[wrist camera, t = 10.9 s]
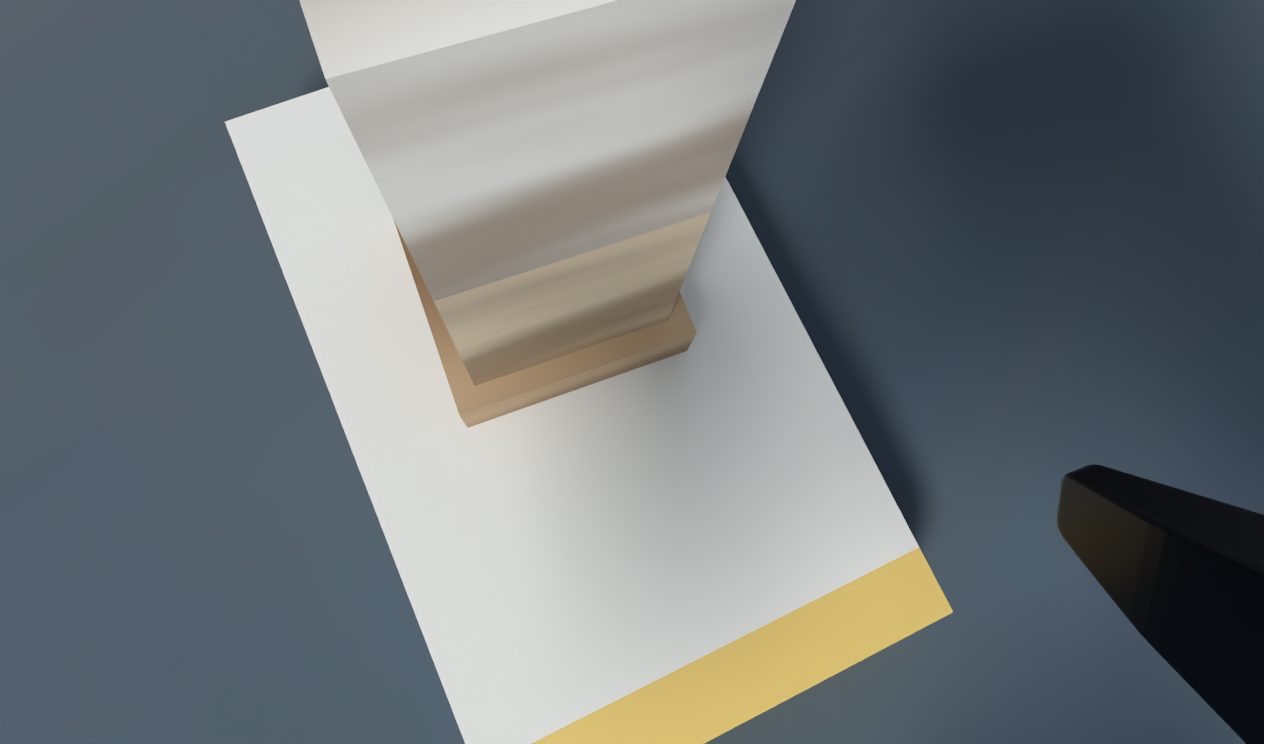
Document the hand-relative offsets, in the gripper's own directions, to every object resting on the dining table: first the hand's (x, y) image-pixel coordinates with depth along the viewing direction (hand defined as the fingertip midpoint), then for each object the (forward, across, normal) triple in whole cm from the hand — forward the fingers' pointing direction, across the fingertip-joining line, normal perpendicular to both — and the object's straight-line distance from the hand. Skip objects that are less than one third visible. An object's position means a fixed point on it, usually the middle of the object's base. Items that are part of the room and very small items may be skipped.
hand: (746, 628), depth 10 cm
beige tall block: (+12, 0, 0) cm, 12 cm away
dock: (+12, 0, +4) cm, 13 cm away
